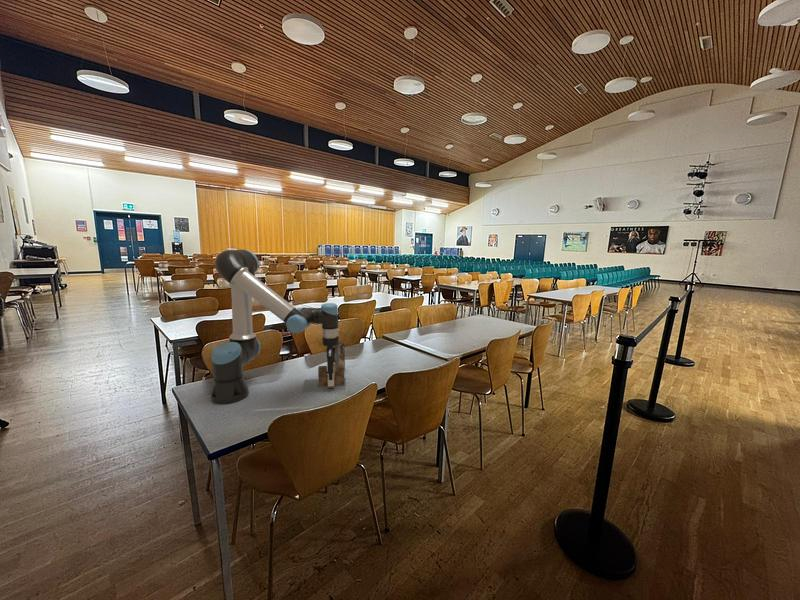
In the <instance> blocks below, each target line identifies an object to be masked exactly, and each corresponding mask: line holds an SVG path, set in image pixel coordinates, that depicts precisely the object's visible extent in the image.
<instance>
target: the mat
mask: <svg viewBox="0 0 800 600" xmlns="http://www.w3.org/2000/svg"><path fill="white" fill-rule="evenodd" d="M344 378H345V384H344V385H337V386H335V388H328V386H319V378H316V379H315V378H314V379H305V380H304V381H303V385H302V388H301V391H300V393H317V392H335V391H336V392H337V391H346V383H347V382H346V381H347V378H346V377H344Z"/></svg>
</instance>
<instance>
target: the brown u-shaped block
mask: <svg viewBox="0 0 800 600" xmlns="http://www.w3.org/2000/svg"><path fill="white" fill-rule="evenodd" d="M317 369H318V370H317V372H318V374H317V376H318V379H319V386H328V374H326V372H327V365H319V366H318V368H317ZM345 378H346V377H345V370H344V365H336V374H335V386H337V385H344V384H345Z"/></svg>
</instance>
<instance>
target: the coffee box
mask: <svg viewBox="0 0 800 600" xmlns="http://www.w3.org/2000/svg"><path fill="white" fill-rule="evenodd" d="M334 347H335V361H336V363H335V374H336V365H344V371H345V370H346V358H345V357H346V355H345V353H346V352H345V342H339V344H338V345H336V346H334ZM327 348H328V347H327V346H326V349H327Z"/></svg>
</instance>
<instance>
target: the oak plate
mask: <svg viewBox="0 0 800 600" xmlns="http://www.w3.org/2000/svg"><path fill="white" fill-rule="evenodd" d="M333 371H334V386H328V388H335V362H333Z"/></svg>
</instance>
